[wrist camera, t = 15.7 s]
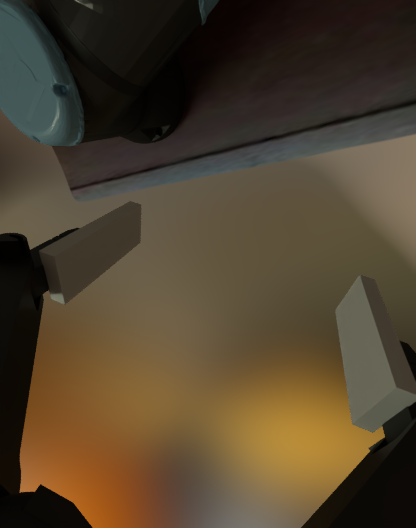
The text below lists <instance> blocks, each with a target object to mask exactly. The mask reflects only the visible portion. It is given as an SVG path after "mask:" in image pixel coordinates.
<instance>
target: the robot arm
mask: <svg viewBox="0 0 416 528" xmlns="http://www.w3.org/2000/svg"><path fill="white" fill-rule="evenodd" d="M218 2H219V0H0V109H1V110H2V111H3V113H4V114H5V115H6V117H7V118H8V119H9V120H10V121H11V122H12V123H13V124H14V125H15V126H16V127H17V128H18V129H19V130H20V131H21V132H23V133H24V134H25V135H26V136H28V137H29V138H31V139H33V140H35V141H36V142H40V143H42V144H46V145H50V146H75V145H77V144H79V143H84V142H90V141H96V140H102V139H108V138H114V137H119V136H120V137H123V138H125V139H128V140H130V141H132V142H136V143H142V144H148V143H153V142H157V141H160V140H163V139H164V138H166V137H167V136H169V135H170V134H171V133H172V132H173V131H174V129H175V128H176V127H177V125H178V123H179V121H180V119H181V116H182V113H183V108H184V102H185V87H184V80H183V76H182V72H181V69H180V66H179V64H178V61H177V59H176V58H175V56H174V55H175V54H176V52H177V51H178V50H179V49H180V48H181V46H182V45H183V44H184V43H185V42H186V41H187V39H188V38H189V37H190V36H191V35H192V34H193V32H194V31H195V30H196V29H197V28H198V26H199V25H200V24H201V25H202V26H203V25H204V24H205V22H206V19H207V16H208V14H209V13H210V12H211V11H212V9H213V8H214V7H215V5H216V4H217V3H218ZM140 233H141V205H140V204H137V203H134V202H131V201H130V202H128V203H126V204H124V205H123V206H121V207H119V208H117V209H115V210H113V211H111V212H110V213H108V214H106V215H104V216H102V217H100V218H99V219H97V220H95V221H93V222H91V223H89V224H87V225H86V226H84V227H82V228H75V229H71V230H68V231H65V232H64V233H62V234H60V235H59V236H56V237H54V238H52V240H48V241H46V242H44V243H42V244H41V245H39V246H37V247H35V248H33V249H31V250H30V249H29V245H28V241H27V238H26V237H25V236H24V235H22V234H18V233H5V234H0V528H92V526H91V525H90V524H89V523H88V521H87V520H86V519H85V517H84V516H83V515H82V514H81V512H80V511H79V510H78V509H77V507H76V506H75V505H74V503H72V502H71V501H69V500H67V499H65V498H64V497H62V496H60V495H58V494H57V493H55V492H53V491H51V490H50V489H48V488H46V487H44V486H42V485H40V486H39V487H38V488H37V490H36V491H35V492H21V493H19V492H20V483H21V468H20V447H21V441H22V435H23V428H24V422H25V416H26V408H27V403H28V397H29V390H30V384H31V377H32V371H33V365H34V359H35V352H36V346H37V338H38V333H39V326H40V320H41V314H42V308H43V301H44V299H43V295H42V294H44V293H45V292H46V291H48V290H49V292H50V296H51V299H53V300H55V301H58V302H60V303H62V304H66V303H68V302H69V301H70V300H71V299H72V298H73V297H75V296H76V295H77V294H78V293H80V292H81V291H82V290H83V289H85V288H86V287H87V286H88V285H89V284H91V283H92V282H93V281H94V280H95V279H97V278H98V277H99V276H100V275H101V274H103V273H104V272H105V271H106V270H108V269H109V268H110V267H111V266H112V265H114V264H115V263H116V262H117V261H118V260H120V259H121V258H122V257H123V256H125V255H126V254H127V253H128V252H129V251H131V250H132V249H133V248H134V247H135V246H137V245H138V244H139V243H140V235H141V234H140ZM335 312H336V318H337V326H338V332H339V339H340V346H341V352H342V359H343V366H344V373H345V379H346V386H347V392H348V399H349V406H350V413H351V420H352V424H353V425H356V426H358V427H360V428H363V429H365V430H368V431H370V432H372V433H373V432H375V431H376V430H377V429H379V428H380V427H381V426H383V430H384V434H385V438H383V439H382V440H380V441H379V442H377V443H376V444H374V445H373V446H371V447H370V448H369V450H370V452H369V453H368V454H367V455H366V457H365V458H364V459H363V460H362V461H361V462H360V463H359V464H358V465H357V467H356V468H355V469H354V470H353V471H352V472H351V473H350V474H349V475H348V477H347V478H346V479H345V480H344V481H343V482H342V483H341V484H340V485H339V486H338V488H337V489H336V490H335V491H334V492H333V493H332V494H331V495H330V496H329V497H328V499H327V500H326V501H325V502H324V503H323V504H322V505H321V506H320V507H319V509H318V510H317V511H316V512H315V513H314V514H313V515H312V516H311V518H310V519H309V520H308V521H307V522H306V523H305V524H304V525H303V526H302V527H301V528H416V353H415V352H414V351H413V350H412V348H411V347H410V346H409V345H408V344H407V343H405V342H401V341H399V339H398V337H397V334H396V332H395V329H394V327H393V324H392V322H391V319H390V317H389V314H388V312H387V309H386V307H385V304H384V302H383V299H382V297H381V295H380V292H379V289H378V287H377V284H376V282H375V280H374V279H371V278H368V277H365V276H362V275H359V277H358V278H357V280H356V281H355V282H354V284H353V285H352V287H351V288H350V290H349V291H348V292H347V294H346V295H345V297H344V298H343V300H342V301H341V303H340V304H339V306H338V307H337V309H336V310H335Z"/></svg>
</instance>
